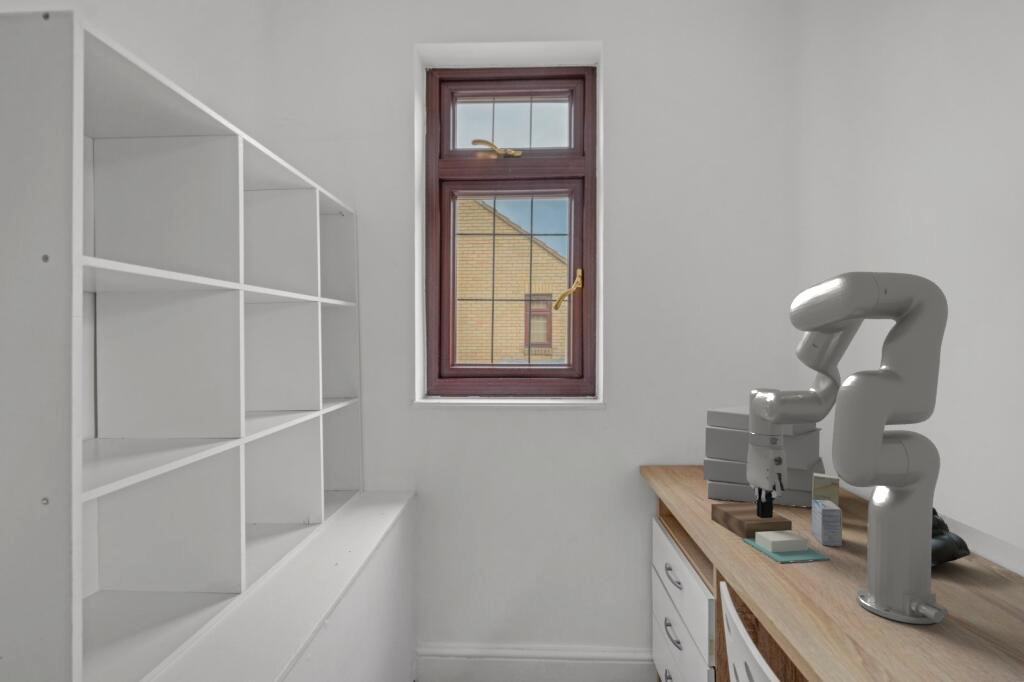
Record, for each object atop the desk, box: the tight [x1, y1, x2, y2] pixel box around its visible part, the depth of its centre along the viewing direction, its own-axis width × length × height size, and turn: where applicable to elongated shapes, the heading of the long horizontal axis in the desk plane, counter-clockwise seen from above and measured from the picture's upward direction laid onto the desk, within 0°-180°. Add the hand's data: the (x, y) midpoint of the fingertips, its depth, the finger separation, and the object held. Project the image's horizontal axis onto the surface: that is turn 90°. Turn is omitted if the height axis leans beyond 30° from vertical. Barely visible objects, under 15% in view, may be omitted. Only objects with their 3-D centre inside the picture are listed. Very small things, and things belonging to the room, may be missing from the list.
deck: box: [710, 502, 793, 539], centre depth 147 cm, size 16×12×4 cm
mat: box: [741, 538, 830, 564], centre depth 132 cm, size 14×12×1 cm
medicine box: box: [811, 500, 843, 547], centre depth 138 cm, size 8×4×9 cm, turn 168°
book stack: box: [702, 405, 826, 508], centre depth 179 cm, size 30×35×26 cm
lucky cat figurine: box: [931, 507, 971, 568], centre depth 126 cm, size 15×12×14 cm
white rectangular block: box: [755, 530, 809, 552], centre depth 133 cm, size 6×9×2 cm, turn 100°
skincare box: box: [811, 473, 840, 521], centre depth 153 cm, size 6×4×12 cm
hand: (764, 516), depth 139 cm, fingers closed
